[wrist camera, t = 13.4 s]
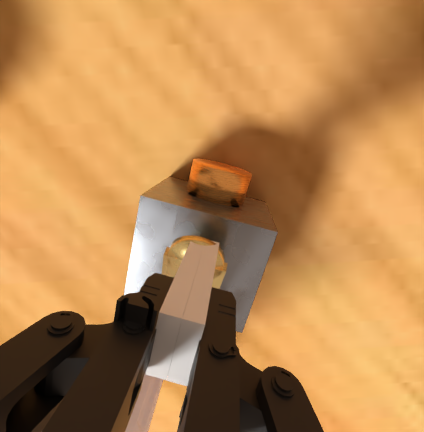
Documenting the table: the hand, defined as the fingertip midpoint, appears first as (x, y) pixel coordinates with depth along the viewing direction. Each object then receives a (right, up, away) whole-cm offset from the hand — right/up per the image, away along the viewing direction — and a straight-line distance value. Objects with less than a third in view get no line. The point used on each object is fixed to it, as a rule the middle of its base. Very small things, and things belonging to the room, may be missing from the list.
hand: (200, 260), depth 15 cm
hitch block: (0, +1, +12) cm, 12 cm away
